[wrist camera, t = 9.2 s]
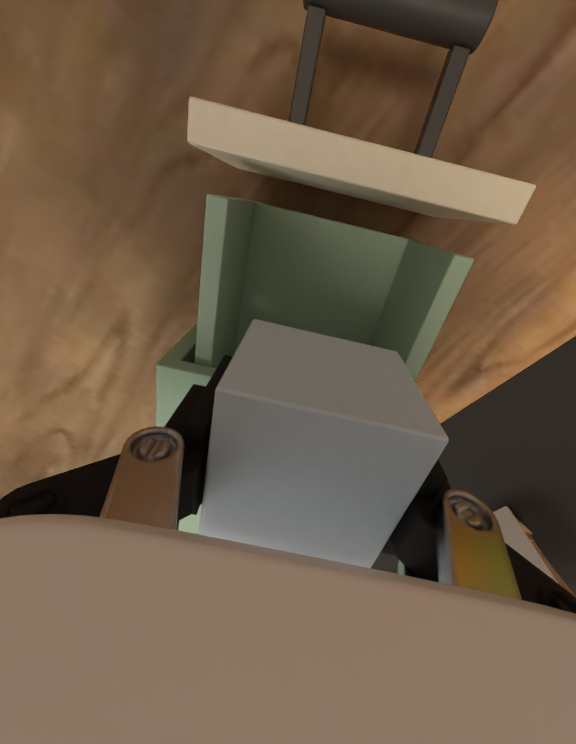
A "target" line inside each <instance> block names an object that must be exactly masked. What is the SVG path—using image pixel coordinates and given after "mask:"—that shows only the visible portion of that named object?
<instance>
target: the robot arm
mask: <svg viewBox="0 0 576 744" xmlns="http://www.w3.org/2000/svg"><path fill="white" fill-rule="evenodd" d="M232 358H233V356H229V355H224V357H223V359H222V360H221V362H220V364H219V365H218V367H217V369H216V370H215V372H214V374H213V375H212V377H211V379H210V380H209V382H208V384H207V385H206V386H202V385H197V384H193V386H192V387H191V388H190V390H189V391H188V393H187V394H186V396H185V397H184V399H183V400H182V401H181V403H180V404H179V406H178V407H177V409H176V410H175V412H174V413H173V415H172V416H171V418H170V419H169V421H168V422H167V424H166V425H165V426H164V427H159V426H158V427H148V428H145V429H141V430H139V431H137V432H135V433H133V434H132V435H131V436H130V437H129V438H128V439H127V440H126V442H125V444H124V446H123V449H122V452H121V454H119V455H116V456H113V457H110V458H107V459H104V460H101V461H98V462H95V463H91V464H88V465H85V466H82V467H79V468H76V469H73V470H70V471H67V472H64V473H61V474H57V475H54V476H51V477H48V478H45V479H42V480H39V481H36V482H33V483H30V484H27V485H25V486H22V487H20V488H17V489H15V490H14V491H12V492H10V493H9V494H7V495H6V496H4V497H3V498H2V499H1V500H0V744H576V597H575V596H573V595H572V594H571V593H570V592H568V591H567V590H566V589H565V588H563V587H562V586H561V585H559V584H558V583H557V582H555V581H554V580H553V579H552V578H550V577H549V576H548V575H546V574H545V573H544V572H543V571H541V570H540V569H539V568H537V567H536V566H535V565H533V564H532V563H531V562H530V561H528V560H527V559H526V558H524V557H523V556H522V555H521V554H519V553H518V552H517V551H515V550H514V549H513V548H511V547H510V546H509V545H508V544H506V543H505V542H504V538H503V535H502V532H501V528H500V525H499V522H498V520H497V518H496V516H495V515H494V513H493V512H492V511H491V509H490V508H489V507H488V506H487V505H485V504H484V503H483V502H482V501H481V500H479V499H478V498H477V497H475V496H473V495H471V494H469V493H467V492H465V491H462V490H458V489H451V487H450V485H449V483H448V481H447V480H448V478H447V476H446V474H445V472H444V470H443V468H442V466H441V464H440V462H439V460H437V461H436V463H435V464H434V466H433V468H432V469H431V471H430V473H429V474H428V476H427V477H426V479H425V481H424V482H423V484H422V486H421V487H420V489H419V490H418V492H417V494H416V495H415V497H414V499H413V500H412V502H411V503H410V505H409V507H408V508H407V510H406V512H405V513H404V515H403V516H402V518H401V520H400V521H399V523H398V524H397V526H396V528H395V529H394V531H393V533H392V534H391V536H390V537H389V539H388V541H387V542H386V544H385V546H384V547H383V549H382V550H381V552H380V553H385V554H390V555H395V556H396V557H397V558H398V559H399V563H398V574H396V573H391V572H386V571H381V570H376V569H371V568H366V567H361V566H356V565H351V564H346V563H341V562H336V561H331V560H326V559H321V558H316V557H311V556H306V555H301V554H296V553H291V552H286V551H281V550H276V549H271V548H266V547H261V546H256V545H251V544H245V543H240V542H235V541H230V540H225V539H220V538H215V537H209V536H204V535H199V534H194V533H189V532H184V531H178V530H179V520H181V519H183V518H185V517H187V516H189V515H191V514H193V515H197V512H198V510H199V507H200V504H202V501H203V492H204V483H205V475H206V466H207V458H208V449H209V440H210V432H211V423H212V415H213V406H214V398H215V389H216V387H217V386H218V384H219V382H220V380H221V378H222V376H223V374H224V373H225V371H226V369H227V367H228V365H229V363H230V361H231V360H232Z"/></svg>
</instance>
